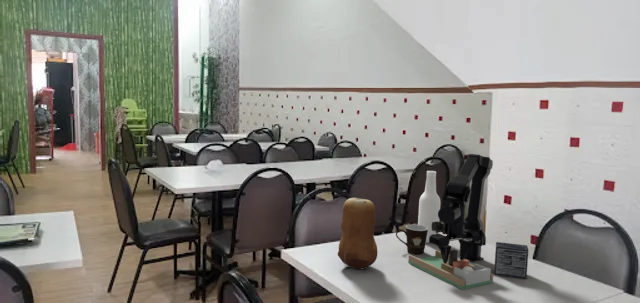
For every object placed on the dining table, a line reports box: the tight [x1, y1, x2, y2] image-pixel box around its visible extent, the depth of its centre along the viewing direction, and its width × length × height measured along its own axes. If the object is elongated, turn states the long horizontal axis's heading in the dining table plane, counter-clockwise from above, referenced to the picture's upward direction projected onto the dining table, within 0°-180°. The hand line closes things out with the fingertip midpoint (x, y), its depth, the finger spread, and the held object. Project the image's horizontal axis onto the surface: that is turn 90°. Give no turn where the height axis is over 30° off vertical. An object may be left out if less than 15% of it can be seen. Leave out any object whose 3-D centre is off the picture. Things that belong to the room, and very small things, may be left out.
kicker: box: [441, 249, 470, 275], centre depth 168 cm, size 6×8×7 cm
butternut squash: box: [337, 197, 378, 270], centre depth 171 cm, size 14×13×25 cm
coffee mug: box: [395, 224, 428, 256], centre depth 192 cm, size 12×9×10 cm
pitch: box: [407, 249, 494, 290], centre depth 170 cm, size 14×27×5 cm, turn 29°
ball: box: [462, 266, 474, 272], centre depth 163 cm, size 4×4×4 cm
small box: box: [493, 241, 530, 280], centre depth 170 cm, size 11×6×10 cm, turn 71°
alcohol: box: [417, 170, 441, 244], centre depth 206 cm, size 9×9×30 cm
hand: (453, 261), depth 168 cm, fingers open, 7 cm apart
